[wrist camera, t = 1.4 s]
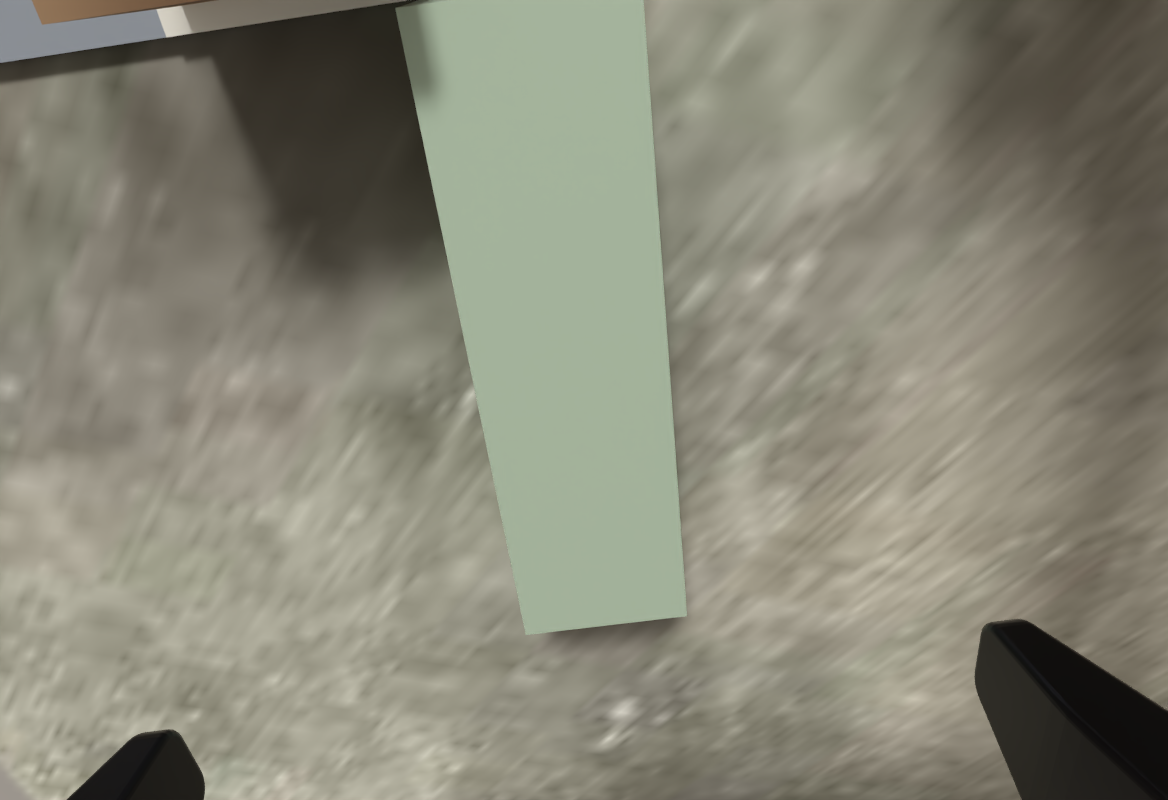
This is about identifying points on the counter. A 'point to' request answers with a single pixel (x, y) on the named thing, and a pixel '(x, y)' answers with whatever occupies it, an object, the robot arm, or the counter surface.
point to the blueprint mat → (145, 23)
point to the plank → (558, 291)
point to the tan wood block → (98, 8)
